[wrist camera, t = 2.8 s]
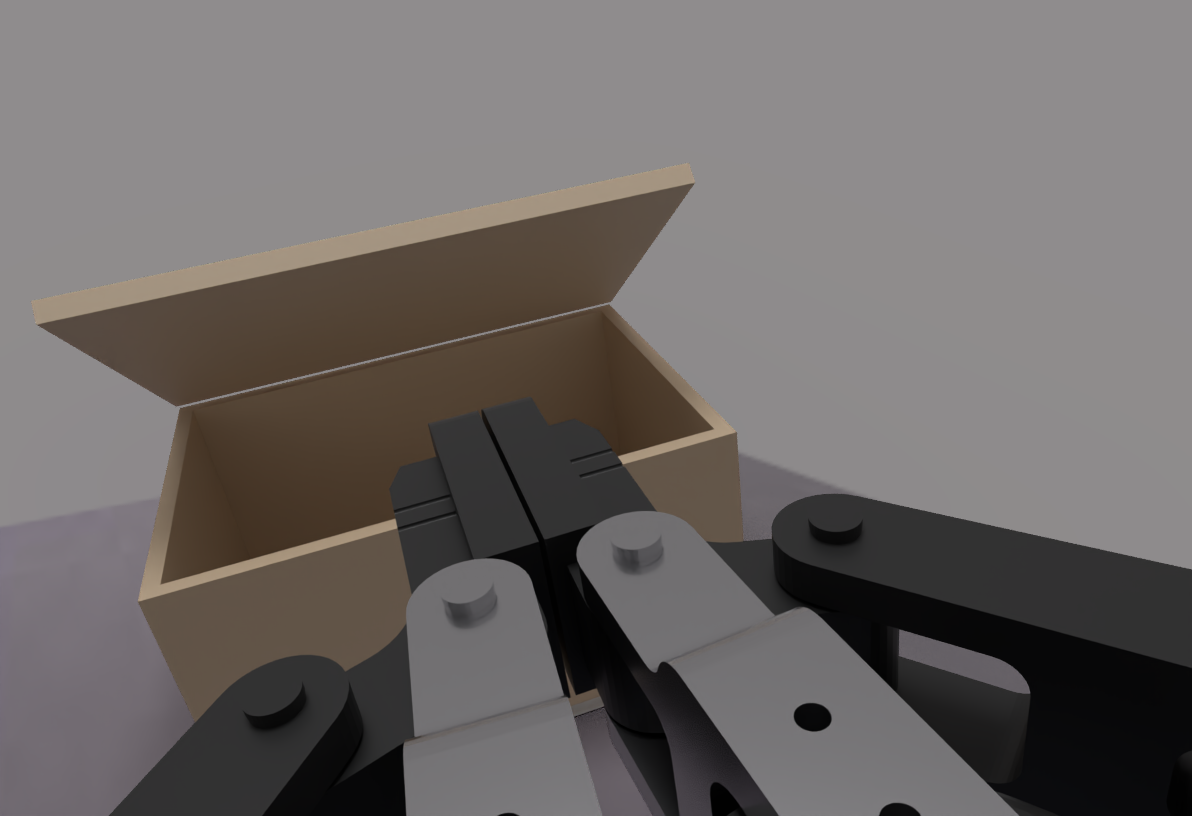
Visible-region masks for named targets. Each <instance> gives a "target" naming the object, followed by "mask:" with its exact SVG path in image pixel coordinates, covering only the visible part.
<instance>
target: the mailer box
mask: <svg viewBox="0 0 1192 816" xmlns="http://www.w3.org/2000/svg"><path fill="white" fill-rule="evenodd" d="M526 397H531V398H532V399H533V401H534V402H535V404H536V406H537V407H538V409H539V410H540V412H541V414H542V415H543V417H544V419H545V420H546V422H547V424H548V425H549V426H550V425H553V424H557V423H561V422H564V421H568V420H572V419H576V420H578V421H580V422H582V423H584V424H587V425H589V426H591V427H593V428H595V429H597V430H599V431H600V432H601V434H602V435H603V437H604V438H605V439H606V441H607V442H608V444H609V445H610V446H611V448H612V451H613V452H615V453H616V455H617V456H618V458H619V459H620V460H621V462H622V464H623V467H624V466H625V467H626V469H627V470H628V472H629V473H630V474H631V476H632V477H633V479H634V480H635V481H636V483H637V484H638V486H639V487H640V488H641V490H642V491H643V493H644V494H645V495H646V497H647V498H648V500H649V501H650V502H651V504H652V505H653V507H654V508H655V509H656V511H657V512H663V513H667V514H671V515H674V516H676V517H679V518H681V519H682V520H684V521H686V522H687V523H688V524H689V525H691V526H692V527H693V528H694V529H695V530H696V532H697V533H698V534H699V535H700V536H701V537H702V538H703V539H704V540H705V541H709V542H722V543H726V542H742V541H743V526H742V510H741V494H740V477H739V461H738V445H737V432H736V431H735V430H734V429H733V428H732V427H731V426H730V425H729V424H728V423H727V422H726V421H725V420H724V419H723V418H722V417H721V416H720V415H719V414H718V413H717V412H716V411H715V410H714V409H713V408H712V407H711V406H710V405H709V404H708V403H707V402H706V401H705V400H704V399H703V398H702V397H701V396H700V395H699V394H698V393H697V392H696V391H695V390H694V389H693V388H692V387H691V386H690V385H689V384H688V383H687V382H686V381H685V380H684V379H683V378H682V377H681V376H680V375H679V374H678V373H677V372H676V371H675V370H674V369H673V368H672V367H671V366H670V365H669V364H668V363H667V362H666V361H665V360H664V359H663V358H662V357H661V356H660V355H659V354H658V353H657V352H656V351H655V350H654V349H653V348H652V347H651V346H650V345H649V344H648V343H647V342H646V341H645V340H644V339H643V338H642V337H641V336H640V335H639V334H638V333H637V332H636V331H635V330H634V329H633V328H632V327H631V326H630V325H629V324H628V323H627V322H626V321H625V320H624V319H623V318H622V317H621V316H620V315H619V314H618V313H617V312H616V311H615V310H614V309H613V308H612V307H611V306H610V305H605V306H601V307H597V308H593V309H588V310H585V311H580V312H576V313H572V314H568V315H564V316H559V317H556V318H551V319H548V320H543V321H539V322H535V323H531V324H526V325H522V326H518V327H514V328H510V329H506V330H502V331H497V332H493V333H490V334H485V335H481V336H477V337H473V338H468V339H464V340H460V341H456V342H452V343H448V344H444V345H440V346H435V347H431V348H427V349H423V350H419V351H415V352H411V353H407V354H402V355H399V356H394V357H390V358H386V359H382V360H378V361H373V362H370V363H365V364H361V365H357V366H353V367H349V368H345V369H340V370H336V371H332V372H328V373H324V374H320V375H315V376H312V377H307V378H303V379H299V380H295V381H291V382H286V383H282V384H278V385H274V386H270V387H266V388H262V389H258V390H253V391H249V392H245V393H241V394H237V395H233V396H229V397H224V398H220V399H216V400H212V401H208V402H204V403H199V404H195V405H191V406H187V407H183V408H180V410H179V416H178V420H177V424H176V429H175V434H174V438H173V443H172V447H171V452H170V456H169V461H168V466H167V470H166V475H165V480H164V484H163V489H162V493H161V498H160V502H159V507H158V512H157V516H156V521H155V525H154V530H153V535H152V539H151V544H150V548H149V553H148V558H147V562H146V567H145V571H144V576H143V581H142V585H141V590H140V594H139V599H138V603H139V605H140V607H141V609H142V611H143V614H144V616H145V618H146V620H147V622H148V624H149V626H150V628H151V630H152V633H153V635H154V637H155V639H156V641H157V643H158V645H159V647H160V649H161V652H162V654H163V656H164V658H165V660H166V662H167V664H168V666H169V668H170V671H171V673H172V675H173V677H174V679H175V681H176V683H177V685H178V687H179V690H180V692H181V694H182V696H183V698H184V700H185V702H186V704H187V706H188V709H189V711H190V713H191V715H192V717H193V719H194V721H195V722H196V721H197V720H198V719H199V718H200V717H201V716H202V715H203V714H204V713H205V711H206V710H207V709H208V708H209V707H210V706H211V705H212V704H213V703H214V702H215V701H216V700H217V699H218V697H219V696H220V695H221V694H222V693H223V692H224V691H225V690H226V689H227V688H228V687H229V686H231V685H232V684H233V683H234V682H236V681H237V680H238V679H240V678H241V677H243V676H244V675H246V674H247V673H249V672H250V671H252V670H254V669H256V668H258V667H260V666H262V665H264V664H267V663H270V662H272V661H275V660H278V659H282V658H285V657H290V656H297V655H317V656H322V657H326V658H329V659H331V660H333V661H335V662H337V663H338V664H339V665H340V666H341V667H342V668H343V669H344V671H347V670H349V669H351V668H352V667H354V666H356V665H358V664H359V663H361V662H363V661H365V660H366V659H368V658H370V657H371V656H373V655H374V654H376V653H378V652H379V651H380V650H382V649H383V648H384V647H385V646H387V645H388V644H389V643H390V642H391V641H392V640H393V639H394V638H395V637H396V636H397V635H398V634H399V633H400V631H401V630H402V629H403V628H404V626H405V624H406V607H407V604H408V601H409V599H410V597H411V596H412V594H411V589H410V585H409V580H408V575H407V571H406V566H405V561H404V556H403V552H402V547H401V542H400V538H399V533H398V528H397V524H396V519H395V513H394V510H393V505H392V500H391V496H390V491H389V488H390V486H391V484H392V482H393V480H394V478H395V476H396V474H397V472H398V470H399V468H400V466H404V465H408V464H411V463H415V462H419V461H422V460H426V459H430V458H433V457H436V455H435V451H434V447H433V443H432V439H431V435H430V431H429V426H428V423H432V422H436V421H440V420H443V419H447V418H451V417H455V416H459V415H462V414H466V413H470V412H474V411H478V412H479V414H480V416H481V418H482V415H481V409H484V408H488V407H492V406H496V405H499V404H503V403H507V402H511V401H514V400H518V399H522V398H526ZM565 672H566V670H565ZM566 677H567V682H568V687H569V691H570V696H571V698H568V699H569V702H570V706H571V709H572V712H573V716H574V717H575V716H577V715H580V714H583V713H586V712H589V711H592V710H595V709H598V708H601V707H604V704H603V702H602V699H601V697H600V695H599V693H598V690H597V688H596V689H593V690H590V691H587V692H585V693H582V694H579V695H576V694H575V692H574V690H573V687H572V685H571V682H570V680H569V678H568V675H567V673H566Z"/></svg>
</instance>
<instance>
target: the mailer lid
mask: <svg viewBox="0 0 1192 816" xmlns="http://www.w3.org/2000/svg"><path fill="white" fill-rule="evenodd" d="M694 183H695V180H694V177H693V174H692V171H691V167H690V164H689V163H686V164H681V165H676V166H672V167H667V168H662V169H658V170H653V171H648V172H643V173H638V174H633V175H629V176H624V177H619V178H614V179H610V180H605V181H600V182H595V183H590V184H586V185H582V186H576V187H571V188H567V189H562V190H557V191H552V192H548V193H543V194H538V195H533V196H529V197H524V198H519V199H514V200H510V201H505V202H500V203H495V204H491V205H486V206H481V207H476V208H472V209H467V210H462V211H457V212H452V213H448V214H443V215H438V216H434V217H429V218H424V219H419V220H415V221H410V222H405V223H400V224H395V225H391V226H386V227H381V228H376V229H372V230H367V231H362V232H358V233H352V234H348V235H343V236H338V237H334V238H329V239H325V240H319V241H314V242H310V243H305V244H300V245H295V246H291V247H286V248H281V249H276V250H272V251H267V252H262V253H258V254H252V255H248V256H243V257H238V258H233V259H229V260H224V261H219V262H214V263H210V264H205V265H200V266H196V267H191V268H186V269H181V270H176V271H172V272H167V273H162V274H158V275H152V276H148V277H143V278H139V279H133V280H129V281H124V282H119V283H115V284H110V285H105V286H100V287H95V288H91V289H86V290H81V291H76V292H72V293H67V294H62V295H57V296H53V297H48V298H43V299H39V300H34V301H31V303H32V307H33V312H34V316H35V321H36V325H38V326H40V327H41V328H43V329H45V330H46V331H48V332H50V333H52V334H53V335H55V336H57V337H58V338H60V339H62V340H63V341H65V342H67V343H69V344H70V345H72V346H74V347H76V348H77V349H79V350H81V351H82V352H84V353H86V354H88V355H89V356H91V357H93V358H94V359H96V360H98V361H99V362H101V363H103V364H104V365H106V366H108V367H110V368H111V369H113V370H115V371H116V372H118V373H120V374H122V375H123V376H125V377H127V378H128V379H130V380H132V381H134V382H135V383H137V384H139V385H140V386H142V387H144V388H145V389H147V390H149V391H151V392H152V393H154V394H156V395H157V396H159V397H161V398H163V399H165V400H166V401H168V402H169V403H171V404H173V405H175V406H180V405H185V404H189V403H193V402H197V401H201V400H205V399H210V398H213V397H217V396H222V395H226V394H230V393H234V392H238V391H243V390H246V389H251V388H255V387H259V386H263V385H267V384H272V383H276V382H280V381H284V380H288V379H292V378H297V377H301V376H305V375H309V374H313V373H317V372H321V371H325V370H330V369H334V368H338V367H342V366H346V365H350V364H355V363H359V362H363V361H367V360H371V359H375V358H380V357H384V356H388V355H392V354H396V353H400V352H404V351H409V350H413V349H417V348H421V347H425V346H429V345H434V344H438V343H442V342H446V341H450V340H454V339H458V338H463V337H467V336H471V335H475V334H479V333H483V332H488V331H492V330H495V329H500V328H504V327H508V326H512V325H516V324H520V323H525V322H529V321H533V320H537V319H541V318H545V317H550V316H553V315H558V314H562V313H566V312H570V311H574V310H579V309H583V308H586V307H591V306H595V305H599V304H604V303H608V302H611V301H612V300H613V298H614V297H615V295H616V294H617V292H618V291H619V290H620V288H621V287H622V286H623V284H624V283H625V281H626V280H627V278H628V277H629V275H630V274H631V273H632V271H633V270H634V268H635V267H636V266H637V264H638V263H639V261H640V260H641V259H642V257H643V256H644V254H645V253H646V252H647V250H648V248H649V247H650V246H651V244H652V243H653V241H654V240H655V239H656V237H657V236H658V235H659V233H660V231H661V230H662V229H663V227H664V226H665V225H666V223H667V222H668V220H669V219H670V218H671V216H672V215H673V213H674V212H675V210H676V209H677V208H678V206H679V205H680V203H681V202H682V201H683V199H684V198H685V196H686V195H687V193H688V192H689V190H690V189H691V188H692V186H693V185H694Z"/></svg>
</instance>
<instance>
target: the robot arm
mask: <svg viewBox="0 0 1192 816" xmlns="http://www.w3.org/2000/svg"><path fill="white" fill-rule="evenodd" d="M481 415H482V418H481V416H480V414H479V412H478V411H474V412H470V413H466V414H462V415H459V416H455V417H451V418H447V419H443V420H440V421H436V422H432V423H428V426H429V431H430V435H431V439H432V443H433V447H434V451H435V455H436V457H433V458H430V459H426V460H422V461H419V462H415V463H411V464H408V465H404V466H400V468H399V470H398V472H397V474H396V476H395V478H394V480H393V482H392V484H391V486H390V488H389V491H390V496H391V500H392V505H393V510H394V513H395V519H396V524H397V528H398V533H399V538H400V542H401V547H402V552H403V556H404V561H405V566H406V571H407V575H408V580H409V585H410V589H411V594H412V596H411V597H410V599H409V601H408V604H407V607H406V624H405V626H404V628H403V629H402V630H401V631H400V633H399V634H398V635H397V636H396V637H395V638H394V639H393V640H392V641H391V642H390V643H389V644H388V645H387V646H385V647H384V648H383V649H382V650H380V651H379V652H378V653H376V654H374V655H373V656H371V657H370V658H368V659H366V660H365V661H363V662H361V663H359V664H358V665H356V666H354V667H352V668H351V669H349V670H347V671H344V669H343V668H342V667H341V666H340V665H339V664H338V663H337V662H335V661H333V660H331V659H329V658H326V657H322V656H317V655H297V656H290V657H285V658H282V659H278V660H275V661H272V662H270V663H267V664H264V665H262V666H260V667H258V668H256V669H254V670H252V671H250V672H249V673H247V674H246V675H244V676H243V677H241V678H240V679H238V680H237V681H236V682H234V683H233V684H232V685H231V686H229V687H228V688H227V689H226V690H225V691H224V692H223V693H222V694H221V695H220V696H219V697H218V699H217V700H216V701H215V702H214V703H213V704H212V705H211V706H210V707H209V708H208V709H207V710H206V711H205V713H204V714H203V715H202V716H201V717H200V718H199V719H198V720H197V721H196V722H195V723H194V724H193V725H192V727H191V728H190V729H189V730H188V731H187V732H186V733H185V734H184V735H183V736H182V737H181V738H180V740H179V741H178V742H177V743H176V744H175V745H174V746H173V747H172V748H171V749H170V750H169V751H168V752H167V754H166V755H165V756H164V757H163V758H162V759H161V760H160V761H159V762H158V763H157V764H156V765H155V767H154V768H153V769H152V770H151V771H150V772H149V773H148V774H147V775H146V776H145V777H144V778H143V779H142V781H141V782H140V783H139V784H138V785H137V786H136V787H135V788H134V789H133V790H132V791H131V792H130V794H129V795H128V796H127V797H126V798H125V799H124V800H123V801H122V802H121V803H120V804H119V805H118V806H117V808H116V809H115V810H114V811H113V812H112V813H111V814H110V815H109V816H602V813H601V810H600V806H599V803H598V799H597V796H596V792H595V789H594V785H593V782H592V778H591V775H590V771H589V768H588V764H587V761H586V757H585V754H584V750H583V747H582V744H581V740H580V737H579V733H578V730H577V726H576V723H575V719H574V716H573V712H572V709H571V706H570V702H569V699H568V698H571V696H570V691H569V687H568V682H567V677H566V673H567V675H568V678H569V680H570V682H571V685H572V687H573V690H574V692H575V694H576V695H579V694H582V693H585V692H587V691H590V690H593V689H596V688H597V690H598V693H599V695H600V697H601V699H602V702H603V704H604V708H605V714H606V719H607V725H608V730H609V735H610V739H611V741H612V743H613V745H614V747H615V749H616V751H617V752H618V754H619V756H620V758H621V760H622V761H623V763H624V765H625V767H626V769H627V771H628V772H629V774H630V776H631V778H632V780H633V781H634V783H635V785H636V787H637V789H638V790H639V792H640V794H641V796H642V798H643V799H644V801H645V803H646V805H647V807H648V808H649V810H650V812H651V814H652V816H1192V570H1191V569H1186V568H1182V567H1177V566H1173V565H1168V564H1164V563H1159V562H1154V561H1150V560H1146V559H1141V558H1137V557H1132V556H1127V555H1123V554H1118V553H1114V552H1109V551H1104V550H1100V549H1096V548H1091V547H1086V546H1082V545H1077V544H1073V543H1068V542H1063V541H1059V540H1055V539H1049V538H1045V537H1041V536H1036V535H1031V534H1027V533H1022V532H1018V531H1013V530H1009V529H1004V528H1000V527H995V526H991V525H986V524H981V523H977V522H973V521H968V520H963V519H959V518H954V517H950V516H945V515H941V514H936V513H931V512H927V511H922V510H918V509H913V508H909V507H904V506H900V505H895V504H891V503H886V502H881V501H877V500H872V499H868V498H863V497H859V496H853V495H847V494H822V495H815V496H810V497H806V498H803V499H800V500H797V501H795V502H793V503H791V504H789V505H788V506H786V507H785V508H783V509H782V510H781V511H780V512H779V513H778V514H777V516H776V517H775V519H774V521H773V524H772V539H765V540H754V541H742V542H726V543H722V542H709V541H705V540H704V539H703V538H702V537H701V536H700V535H699V534H698V533H697V532H696V530H695V529H694V528H693V527H692V526H691V525H689V524H688V523H687V522H686V521H684V520H682V519H681V518H679V517H676V516H674V515H671V514H667V513H663V512H657V511H656V509H655V508H654V507H653V505H652V504H651V502H650V501H649V500H648V498H647V497H646V495H645V494H644V493H643V491H642V490H641V488H640V487H639V486H638V484H637V483H636V481H635V480H634V479H633V477H632V476H631V474H630V473H629V472H628V470H627V469H626V467H625V466H624V467H623V464H622V462H621V460H620V459H619V458H618V456H617V455H616V453H615V452H613V451H612V448H611V446H610V445H609V444H608V442H607V441H606V439H605V438H604V437H603V435H602V434H601V432H600V431H599V430H597V429H595V428H593V427H591V426H589V425H587V424H584V423H582V422H580V421H578V420H576V419H572V420H568V421H564V422H561V423H557V424H553V425H550V426H549V425H548V424H547V422H546V420H545V419H544V417H543V415H542V414H541V412H540V410H539V409H538V407H537V406H536V404H535V402H534V401H533V399H532V398H531V397H526V398H522V399H518V400H514V401H511V402H507V403H503V404H499V405H496V406H492V407H488V408H484V409H481ZM899 629H901V630H904V631H907V632H911V633H914V634H918V635H921V636H924V637H928V638H931V639H935V640H938V641H941V642H945V643H948V644H951V645H955V646H958V647H962V648H965V649H968V650H972V651H975V652H979V653H982V654H985V655H989V656H992V657H995V658H998V659H1000V660H1002V661H1004V662H1006V663H1008V664H1009V665H1011V666H1013V667H1014V668H1015V669H1016V670H1017V671H1018V672H1019V673H1020V674H1021V675H1022V676H1023V677H1024V679H1025V680H1026V681H1027V684H1028V686H1029V689H1030V694H1022V693H1016V692H1012V691H1009V690H1006V689H1003V688H999V687H996V686H993V685H990V684H986V683H983V682H980V681H977V680H974V679H970V678H967V677H964V676H961V675H958V674H954V673H951V672H948V671H945V670H942V669H938V668H935V667H932V666H929V665H925V664H922V663H919V662H916V661H913V660H909V659H906V658H903V657H900V656H899ZM565 670H566V672H565Z"/></svg>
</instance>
